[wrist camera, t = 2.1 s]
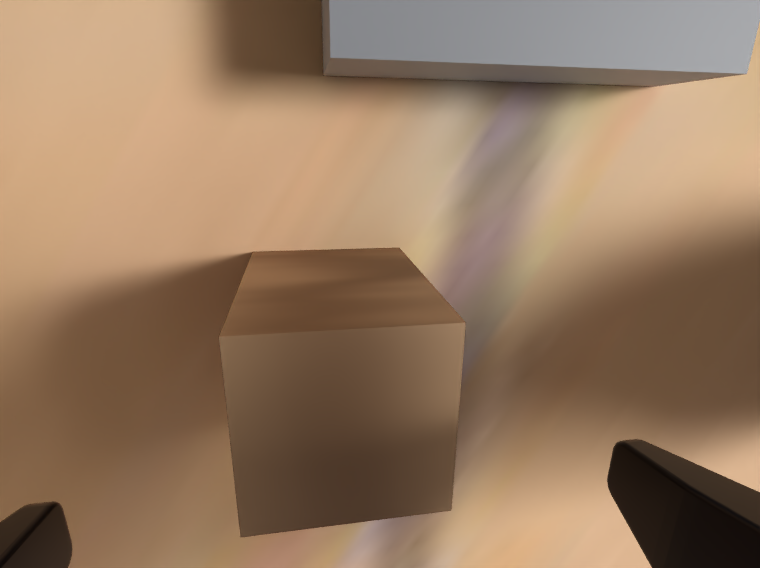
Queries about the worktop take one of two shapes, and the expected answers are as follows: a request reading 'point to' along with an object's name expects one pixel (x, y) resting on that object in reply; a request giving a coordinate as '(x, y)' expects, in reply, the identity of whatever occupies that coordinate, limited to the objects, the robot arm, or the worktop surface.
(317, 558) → the worktop surface
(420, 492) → the peg
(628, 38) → the socket block
